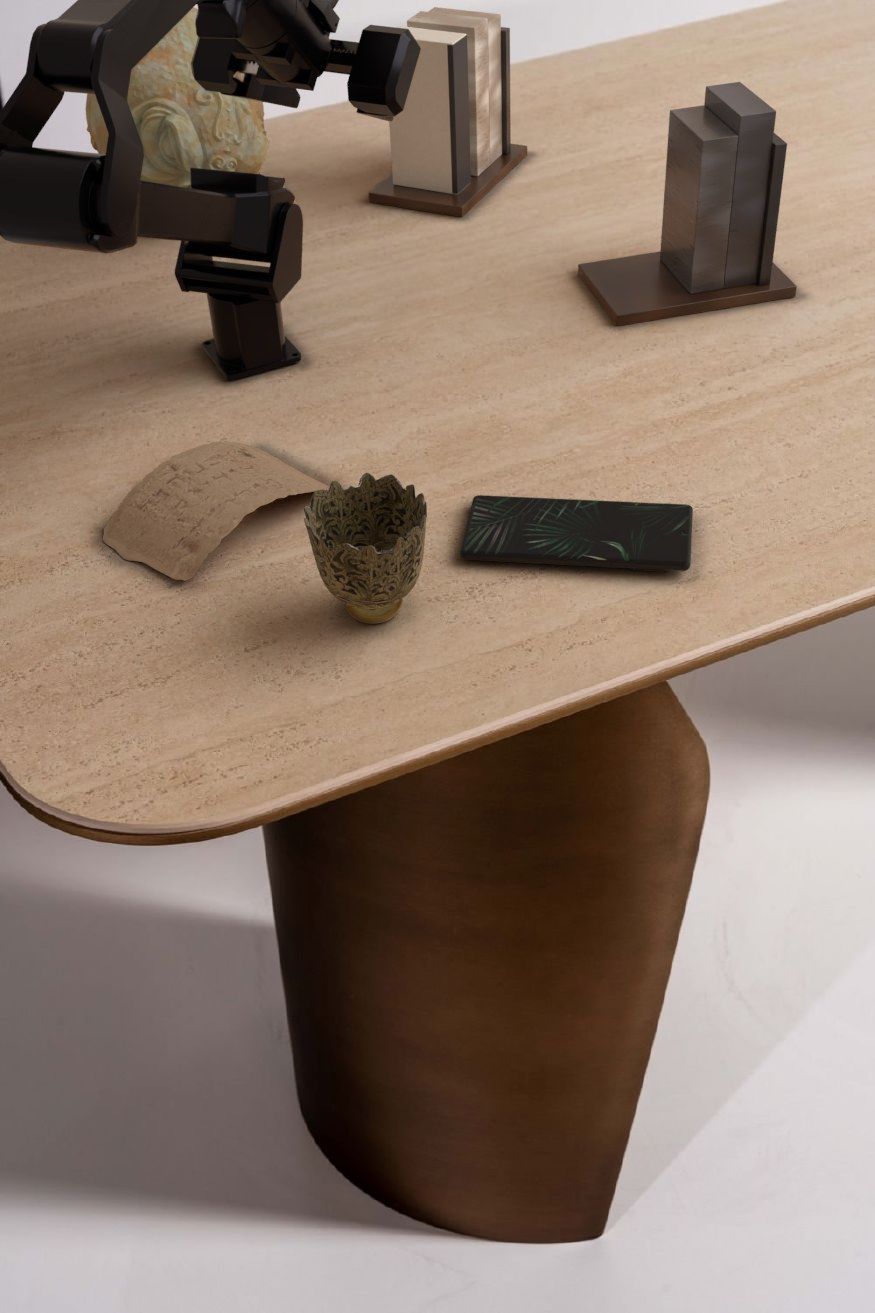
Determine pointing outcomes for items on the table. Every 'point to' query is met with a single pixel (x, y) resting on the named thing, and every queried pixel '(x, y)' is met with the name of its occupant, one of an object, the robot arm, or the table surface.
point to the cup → (368, 543)
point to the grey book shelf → (707, 217)
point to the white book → (434, 117)
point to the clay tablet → (198, 504)
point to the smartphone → (579, 533)
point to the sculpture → (185, 116)
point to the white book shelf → (446, 198)
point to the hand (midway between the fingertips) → (344, 108)
